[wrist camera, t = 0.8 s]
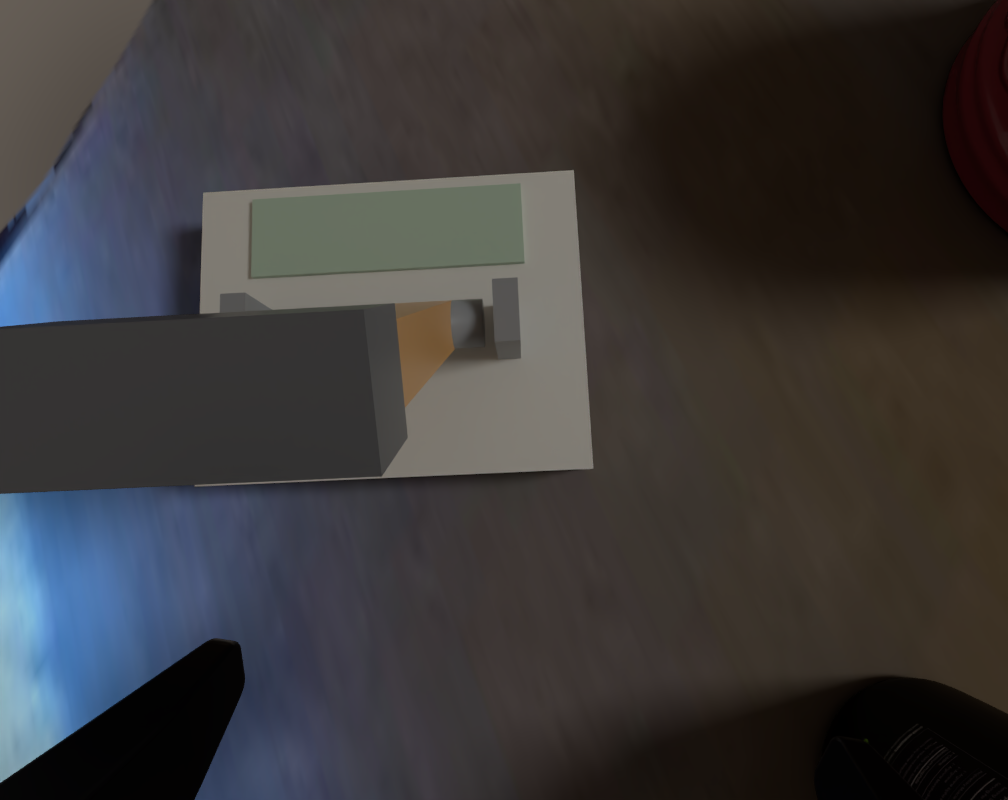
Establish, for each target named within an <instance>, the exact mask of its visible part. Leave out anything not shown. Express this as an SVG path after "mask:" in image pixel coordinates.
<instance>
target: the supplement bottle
mask: <svg viewBox="0 0 1008 800" xmlns="http://www.w3.org/2000/svg"><path fill="white" fill-rule="evenodd" d="M836 736H843V737H849V738H855V739H860V740H863V741H865V742H867V743H868V744H869V745H871V746H872V747H873V748H874V749H875V750H876V751H877V752H878V753H879V754H880V755H881V756H882V757H883V758H884V759H885V760H886V761H887V762H888V763H889V764H890V765H891V766H892V767H893V768H894V769H895V770H896V771H897V772H898V773H899V774H900V775H901V776H902V777H903V779H904V780H905V781H906V782H907V783H908V784H909V785H910V786H911V787H912V788H913V789H914V790H915V791H916V792H917V793H918V794H919V795H920V796H921V797H922V798H923V799H924V800H1008V714H1007V713H1005V712H1003V711H1001V710H999V709H997V708H995V707H993V706H991V705H989V704H987V703H985V702H983V701H981V700H979V699H976V698H974V697H972V696H970V695H968V694H966V693H964V692H961V691H959V690H957V689H955V688H952V687H950V686H947V685H945V684H942V683H938V682H935V681H931V680H926V679H918V678H895V679H890V680H885V681H881V682H878V683H875V684H873V685H871V686H868V687H866V688H865V689H863V690H861V691H859V692H858V693H857V694H855V695H854V696H852V697H851V698H850V699H849V700H848V701H847V702H846V703H845V704H844V705H843V706H842V707H841V709H840V710H839V711H838V713H837V714H836V715H835V717H834V719H833V721H832V722H831V724H830V727H829V729H828V731H827V734H826V737H825V740H824V745H823V750H822V756H823V754H824V752H825V750H826V748H827V746H828V744H829V742H830V741H831V739H832V738H834V737H836Z"/></svg>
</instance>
